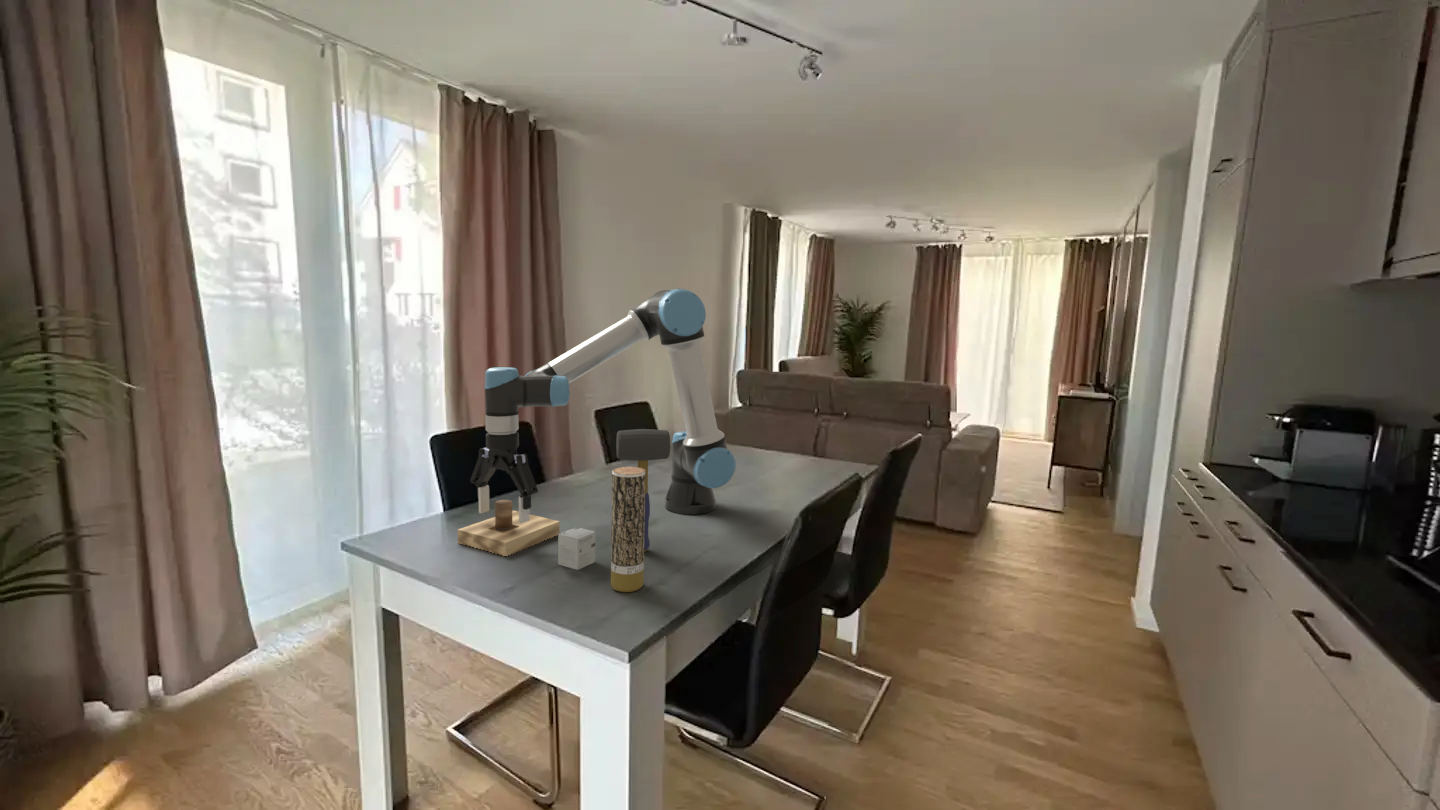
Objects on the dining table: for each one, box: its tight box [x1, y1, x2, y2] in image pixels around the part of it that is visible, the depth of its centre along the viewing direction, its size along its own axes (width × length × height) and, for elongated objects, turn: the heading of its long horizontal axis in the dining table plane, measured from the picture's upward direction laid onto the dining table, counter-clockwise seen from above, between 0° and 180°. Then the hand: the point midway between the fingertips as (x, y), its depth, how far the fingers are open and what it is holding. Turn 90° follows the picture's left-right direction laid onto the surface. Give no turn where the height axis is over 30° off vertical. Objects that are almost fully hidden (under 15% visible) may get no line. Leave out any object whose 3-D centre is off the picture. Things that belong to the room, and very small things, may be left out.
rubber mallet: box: [615, 428, 671, 553], centre depth 149 cm, size 12×8×30 cm, turn 104°
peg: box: [494, 499, 513, 533], centre depth 153 cm, size 4×4×10 cm
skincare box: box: [557, 526, 596, 571], centre depth 142 cm, size 6×6×7 cm
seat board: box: [457, 510, 561, 557], centre depth 156 cm, size 16×18×4 cm
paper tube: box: [610, 466, 646, 593], centre depth 129 cm, size 7×7×25 cm
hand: (503, 516), depth 153 cm, fingers open, 13 cm apart
